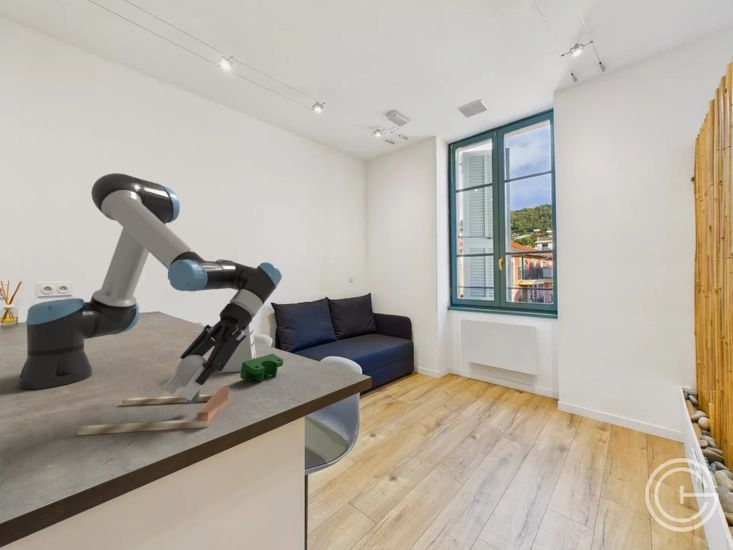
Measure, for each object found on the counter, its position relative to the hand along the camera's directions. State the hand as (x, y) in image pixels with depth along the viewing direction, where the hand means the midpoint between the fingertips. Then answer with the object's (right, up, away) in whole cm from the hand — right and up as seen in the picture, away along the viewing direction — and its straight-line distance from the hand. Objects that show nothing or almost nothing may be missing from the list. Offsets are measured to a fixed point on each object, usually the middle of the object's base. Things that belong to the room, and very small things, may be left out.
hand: (176, 394), depth 66 cm
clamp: (+10, -6, +26) cm, 28 cm away
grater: (-2, -5, +37) cm, 37 cm away
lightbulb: (+2, -4, +3) cm, 5 cm away
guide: (-4, -5, +2) cm, 7 cm away
